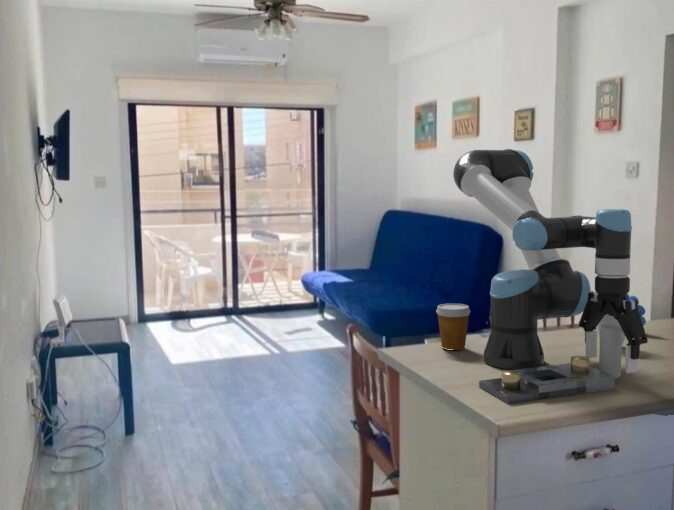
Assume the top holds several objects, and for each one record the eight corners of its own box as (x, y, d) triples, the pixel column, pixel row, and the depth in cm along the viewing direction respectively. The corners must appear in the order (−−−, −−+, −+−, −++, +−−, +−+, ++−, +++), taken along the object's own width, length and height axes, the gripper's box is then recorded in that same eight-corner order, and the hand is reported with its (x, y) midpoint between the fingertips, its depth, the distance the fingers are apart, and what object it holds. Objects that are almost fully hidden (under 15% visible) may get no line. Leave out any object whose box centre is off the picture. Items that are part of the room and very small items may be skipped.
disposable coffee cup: (476, 350, 178) (476, 308, 177) (445, 354, 176) (445, 310, 174) (460, 342, 187) (460, 302, 186) (430, 345, 185) (430, 304, 183)
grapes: (601, 329, 199) (602, 291, 198) (614, 326, 203) (615, 289, 202) (636, 336, 190) (637, 296, 188) (649, 333, 193) (650, 294, 192)
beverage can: (624, 379, 150) (625, 328, 149) (603, 379, 150) (604, 329, 149) (615, 373, 155) (617, 324, 154) (595, 373, 155) (596, 324, 154)
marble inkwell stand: (479, 387, 147) (479, 361, 146) (579, 374, 155) (579, 349, 154) (507, 403, 136) (508, 376, 135) (614, 389, 144) (615, 362, 143)
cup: (629, 345, 180) (630, 310, 179) (624, 352, 174) (625, 315, 173) (598, 341, 185) (599, 307, 184) (593, 348, 178) (593, 312, 177)
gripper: (667, 281, 139) (664, 377, 142) (590, 268, 163) (588, 350, 165) (638, 284, 137) (636, 381, 139) (564, 270, 161) (563, 353, 163)
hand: (610, 364), depth 152 cm, fingers open, 13 cm apart
